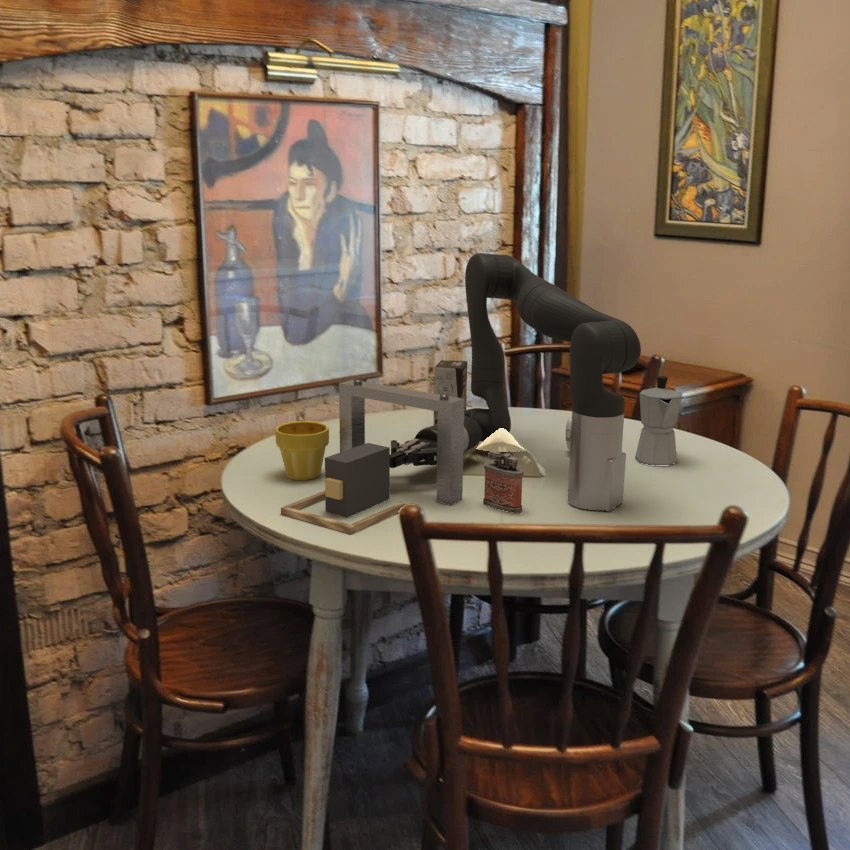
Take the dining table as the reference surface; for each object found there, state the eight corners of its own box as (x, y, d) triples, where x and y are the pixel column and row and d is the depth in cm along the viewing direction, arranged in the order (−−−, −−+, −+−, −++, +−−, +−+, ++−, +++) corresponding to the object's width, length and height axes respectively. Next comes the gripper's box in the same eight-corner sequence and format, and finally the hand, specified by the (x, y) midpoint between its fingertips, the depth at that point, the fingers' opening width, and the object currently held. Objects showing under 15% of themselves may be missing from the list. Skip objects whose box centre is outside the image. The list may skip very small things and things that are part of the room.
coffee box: (460, 438, 220) (462, 368, 216) (432, 436, 221) (433, 366, 217) (467, 428, 229) (468, 360, 224) (440, 426, 230) (440, 358, 226)
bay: (405, 509, 174) (405, 503, 174) (351, 534, 163) (351, 527, 162) (336, 492, 183) (336, 485, 183) (280, 514, 172) (280, 507, 171)
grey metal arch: (462, 499, 180) (464, 395, 175) (450, 505, 177) (451, 399, 172) (353, 473, 195) (352, 376, 190) (340, 478, 192) (338, 380, 187)
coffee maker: (684, 469, 199) (692, 383, 194) (641, 469, 199) (647, 383, 194) (666, 449, 213) (673, 368, 209) (626, 448, 213) (632, 367, 209)
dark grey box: (389, 499, 180) (389, 447, 177) (343, 519, 170) (342, 464, 167) (368, 494, 183) (368, 442, 180) (321, 513, 172) (320, 459, 170)
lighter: (526, 509, 175) (528, 456, 172) (514, 514, 173) (516, 460, 170) (490, 499, 180) (492, 447, 178) (479, 504, 178) (480, 451, 175)
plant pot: (290, 486, 186) (289, 437, 184) (268, 472, 195) (266, 425, 192) (339, 477, 192) (338, 429, 189) (314, 464, 200) (313, 418, 198)
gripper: (415, 418, 198) (361, 437, 184) (470, 429, 191) (418, 449, 177) (415, 454, 200) (361, 475, 186) (469, 466, 193) (417, 488, 179)
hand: (389, 462), depth 182 cm, fingers closed
